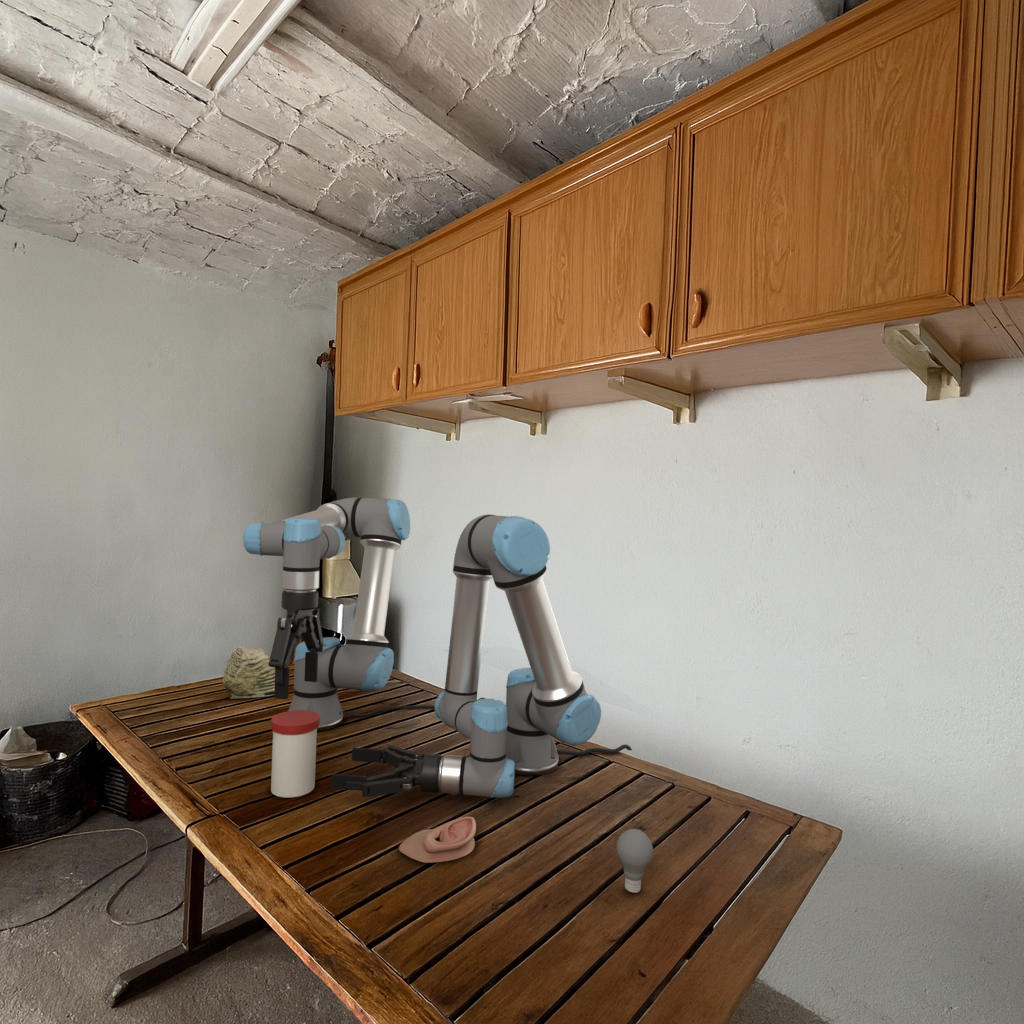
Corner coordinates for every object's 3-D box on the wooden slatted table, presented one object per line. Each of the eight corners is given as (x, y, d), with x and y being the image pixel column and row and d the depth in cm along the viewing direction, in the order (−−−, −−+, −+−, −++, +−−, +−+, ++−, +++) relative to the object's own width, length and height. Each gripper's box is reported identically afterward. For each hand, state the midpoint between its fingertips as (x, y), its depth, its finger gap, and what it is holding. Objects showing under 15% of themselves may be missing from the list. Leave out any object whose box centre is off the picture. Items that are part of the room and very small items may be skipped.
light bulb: (610, 879, 108) (613, 822, 108) (644, 879, 109) (647, 822, 109) (619, 902, 102) (622, 840, 102) (655, 901, 103) (658, 840, 103)
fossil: (218, 695, 195) (220, 647, 195) (278, 685, 208) (279, 640, 207) (228, 703, 189) (230, 653, 188) (289, 692, 201) (290, 645, 201)
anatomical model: (392, 835, 112) (415, 805, 123) (391, 857, 112) (414, 825, 123) (465, 847, 109) (481, 815, 121) (464, 869, 109) (480, 835, 121)
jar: (270, 781, 140) (272, 714, 139) (313, 776, 143) (315, 711, 143) (271, 800, 131) (273, 729, 131) (316, 794, 135) (319, 725, 134)
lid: (270, 720, 140) (270, 712, 140) (317, 716, 143) (317, 708, 143) (271, 736, 131) (271, 728, 130) (321, 732, 134) (321, 723, 134)
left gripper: (311, 582, 149) (307, 673, 149) (252, 596, 125) (248, 705, 125) (341, 584, 148) (337, 675, 148) (287, 599, 124) (283, 708, 124)
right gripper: (429, 821, 121) (320, 813, 122) (450, 766, 146) (359, 760, 147) (430, 782, 121) (322, 774, 122) (451, 734, 146) (360, 728, 147)
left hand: (296, 689), depth 137 cm, fingers open, 12 cm apart
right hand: (342, 766), depth 135 cm, fingers open, 13 cm apart
